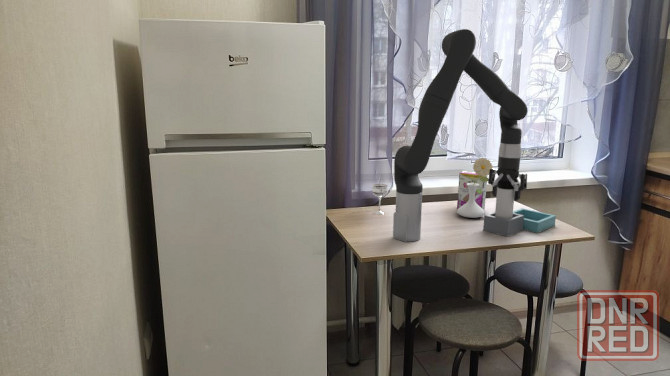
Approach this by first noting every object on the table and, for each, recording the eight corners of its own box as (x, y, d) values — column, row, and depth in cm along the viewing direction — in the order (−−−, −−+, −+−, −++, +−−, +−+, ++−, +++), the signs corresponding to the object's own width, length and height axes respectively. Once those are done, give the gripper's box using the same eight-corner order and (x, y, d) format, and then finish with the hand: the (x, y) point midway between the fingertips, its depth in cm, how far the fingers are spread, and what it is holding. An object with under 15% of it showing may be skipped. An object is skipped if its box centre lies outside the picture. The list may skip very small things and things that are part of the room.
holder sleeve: (507, 236, 170) (508, 221, 169) (483, 230, 178) (484, 214, 176) (522, 230, 177) (524, 215, 176) (498, 224, 185) (500, 209, 183)
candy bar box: (456, 208, 207) (458, 172, 203) (460, 206, 211) (462, 170, 207) (481, 212, 201) (484, 175, 197) (485, 209, 205) (487, 173, 202)
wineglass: (388, 215, 197) (388, 187, 194) (372, 214, 197) (372, 187, 195) (386, 210, 204) (387, 183, 201) (371, 210, 204) (371, 183, 201)
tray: (537, 232, 175) (538, 222, 174) (503, 224, 185) (504, 214, 184) (554, 225, 183) (555, 215, 182) (521, 217, 194) (522, 208, 193)
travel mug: (513, 233, 174) (518, 181, 169) (494, 232, 175) (499, 180, 171) (510, 228, 180) (515, 177, 175) (492, 227, 181) (496, 176, 177)
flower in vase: (455, 218, 192) (458, 158, 187) (458, 211, 203) (461, 154, 197) (488, 221, 188) (493, 160, 182) (489, 214, 198) (494, 156, 193)
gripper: (486, 154, 174) (483, 196, 178) (522, 159, 163) (518, 203, 167) (497, 152, 179) (494, 193, 182) (533, 156, 168) (528, 200, 172)
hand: (505, 198), depth 175 cm, fingers open, 8 cm apart
